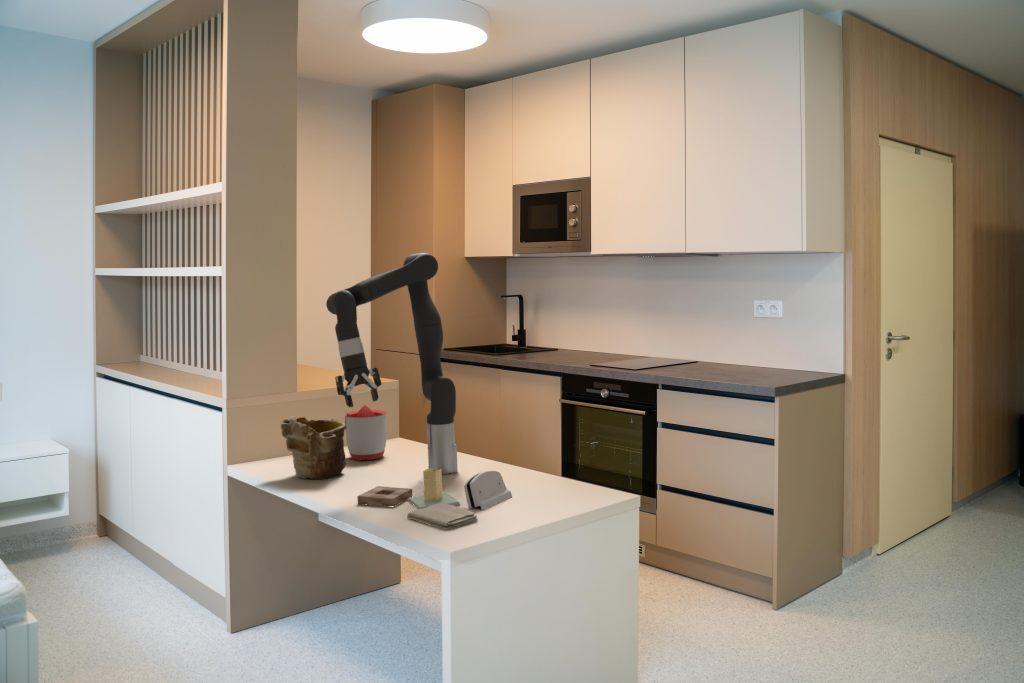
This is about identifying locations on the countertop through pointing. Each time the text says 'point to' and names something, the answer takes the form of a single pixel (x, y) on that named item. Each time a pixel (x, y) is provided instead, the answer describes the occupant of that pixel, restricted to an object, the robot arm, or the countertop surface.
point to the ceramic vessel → (315, 446)
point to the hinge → (486, 490)
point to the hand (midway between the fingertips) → (363, 404)
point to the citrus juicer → (366, 433)
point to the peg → (432, 484)
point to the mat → (422, 504)
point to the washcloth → (443, 516)
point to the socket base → (385, 496)
